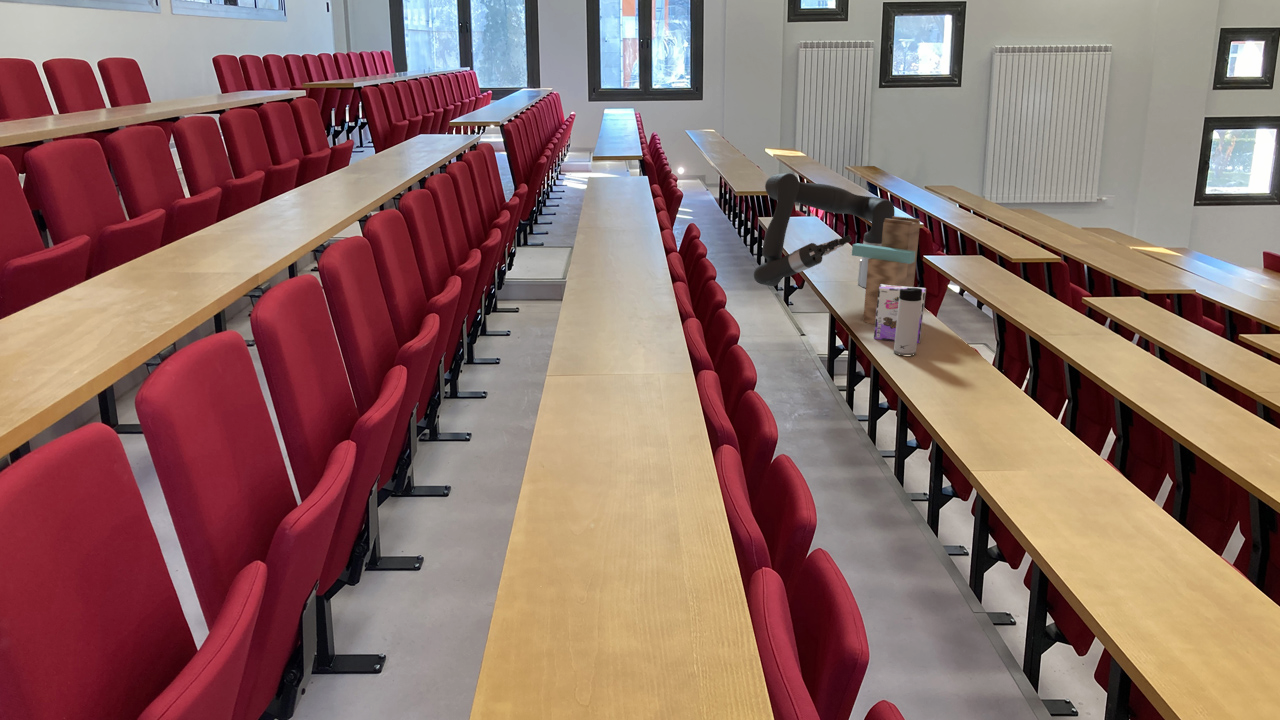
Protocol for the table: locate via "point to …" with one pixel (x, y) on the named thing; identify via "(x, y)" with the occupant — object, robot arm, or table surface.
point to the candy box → (892, 312)
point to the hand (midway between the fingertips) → (844, 239)
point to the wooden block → (878, 275)
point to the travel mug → (907, 321)
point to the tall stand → (902, 239)
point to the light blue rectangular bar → (883, 253)
